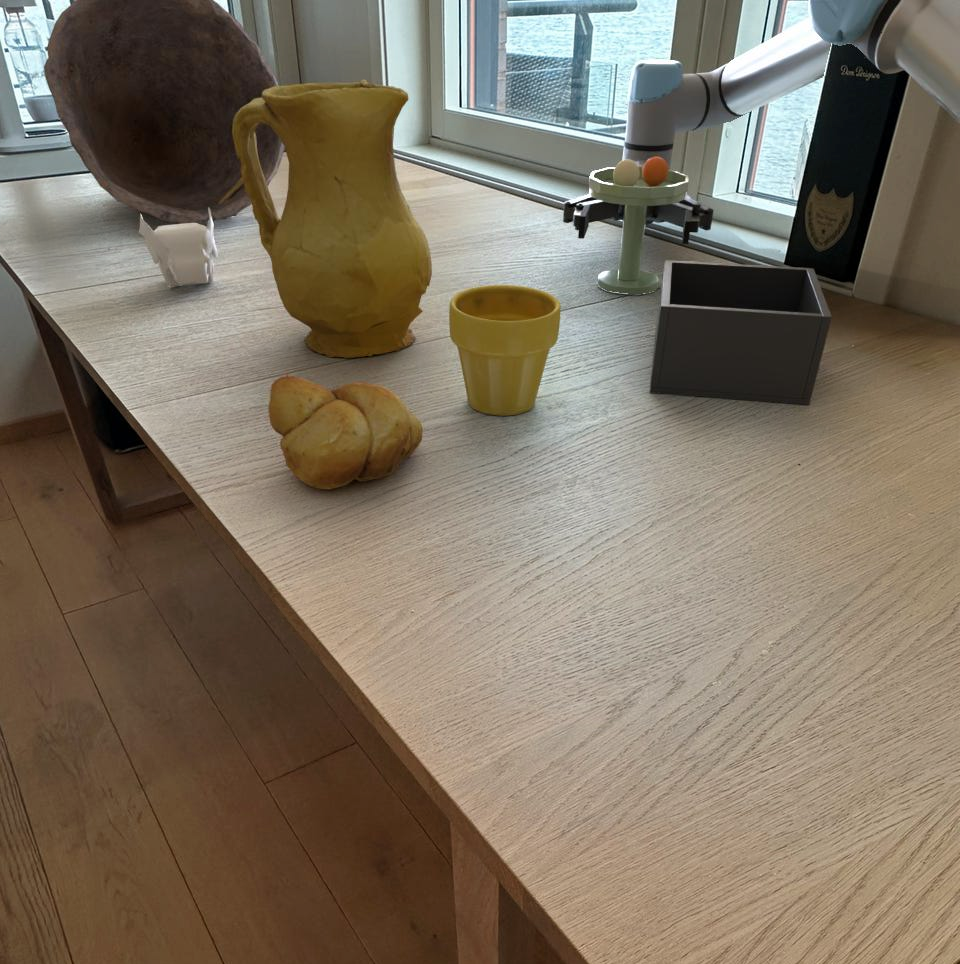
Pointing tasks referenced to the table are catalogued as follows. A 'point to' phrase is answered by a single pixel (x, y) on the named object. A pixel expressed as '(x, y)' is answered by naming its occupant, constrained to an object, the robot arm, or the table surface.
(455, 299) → the flower pot
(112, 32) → the bowl
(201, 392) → the table surface
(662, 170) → the ball
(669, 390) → the bin
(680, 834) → the table surface
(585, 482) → the table surface
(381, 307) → the pitcher
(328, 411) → the bread roll
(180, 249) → the white open carton
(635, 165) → the ball
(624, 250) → the pedestal stand
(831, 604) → the table surface
